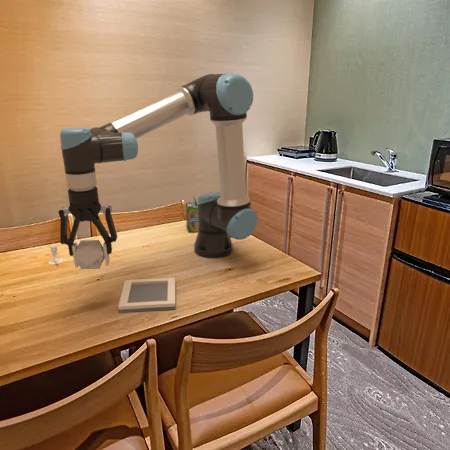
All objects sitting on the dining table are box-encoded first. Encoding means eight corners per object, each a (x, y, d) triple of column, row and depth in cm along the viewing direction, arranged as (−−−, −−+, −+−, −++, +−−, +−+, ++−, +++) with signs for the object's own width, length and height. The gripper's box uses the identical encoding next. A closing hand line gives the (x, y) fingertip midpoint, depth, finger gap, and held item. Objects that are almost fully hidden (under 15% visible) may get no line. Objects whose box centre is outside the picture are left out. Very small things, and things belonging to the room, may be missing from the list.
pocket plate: (175, 283, 128) (175, 277, 127) (175, 309, 113) (175, 303, 112) (125, 285, 126) (124, 280, 125) (118, 312, 111) (118, 306, 111)
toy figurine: (62, 257, 147) (59, 238, 144) (66, 265, 140) (63, 246, 138) (46, 260, 144) (43, 241, 142) (50, 268, 138) (47, 249, 135)
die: (91, 278, 107) (109, 248, 107) (63, 263, 106) (81, 232, 106) (98, 274, 115) (115, 246, 115) (72, 260, 114) (89, 231, 115)
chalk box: (209, 231, 173) (208, 199, 168) (188, 233, 171) (187, 200, 166) (205, 224, 181) (205, 193, 176) (186, 225, 180) (185, 194, 175)
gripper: (123, 182, 109) (130, 257, 117) (46, 185, 106) (59, 260, 114) (119, 189, 102) (127, 268, 110) (37, 192, 99) (51, 272, 107)
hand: (92, 264), depth 112 cm, fingers closed on die, 8 cm apart
